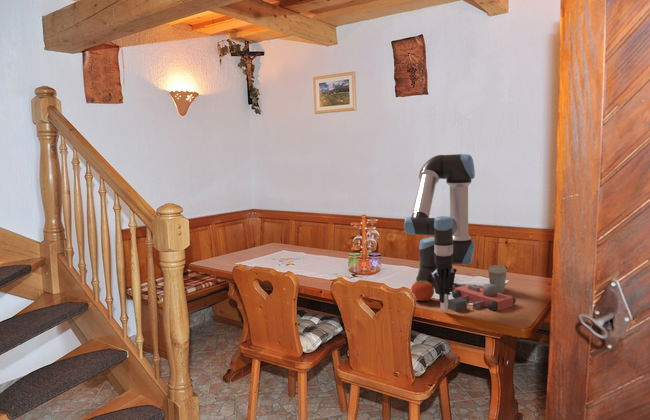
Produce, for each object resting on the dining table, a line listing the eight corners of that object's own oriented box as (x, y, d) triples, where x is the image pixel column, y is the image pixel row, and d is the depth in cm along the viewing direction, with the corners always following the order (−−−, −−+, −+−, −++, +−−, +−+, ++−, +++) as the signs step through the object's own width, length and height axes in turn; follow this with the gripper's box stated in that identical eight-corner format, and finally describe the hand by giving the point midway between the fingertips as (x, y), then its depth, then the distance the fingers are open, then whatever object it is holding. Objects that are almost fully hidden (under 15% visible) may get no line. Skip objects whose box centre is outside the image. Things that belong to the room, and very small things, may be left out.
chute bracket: (456, 303, 209) (456, 297, 209) (466, 300, 213) (466, 295, 212) (474, 309, 201) (474, 303, 201) (484, 306, 204) (484, 300, 204)
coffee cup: (508, 294, 218) (508, 269, 217) (489, 294, 220) (489, 269, 219) (505, 289, 227) (505, 264, 225) (486, 288, 228) (486, 264, 227)
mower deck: (451, 297, 218) (451, 280, 217) (471, 292, 224) (472, 275, 223) (495, 311, 197) (495, 293, 196) (515, 305, 204) (516, 287, 203)
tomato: (414, 296, 222) (414, 275, 221) (436, 298, 217) (436, 277, 216) (408, 302, 213) (407, 281, 212) (430, 305, 208) (430, 283, 207)
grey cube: (447, 308, 204) (447, 299, 203) (458, 306, 206) (458, 297, 206) (455, 312, 199) (455, 303, 199) (466, 309, 202) (466, 300, 201)
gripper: (438, 258, 189) (439, 315, 192) (461, 253, 195) (461, 308, 199) (425, 255, 195) (426, 310, 198) (448, 250, 202) (448, 304, 205)
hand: (444, 309), depth 198 cm, fingers closed
